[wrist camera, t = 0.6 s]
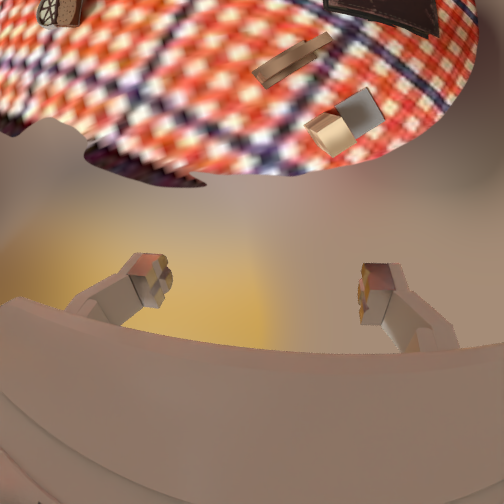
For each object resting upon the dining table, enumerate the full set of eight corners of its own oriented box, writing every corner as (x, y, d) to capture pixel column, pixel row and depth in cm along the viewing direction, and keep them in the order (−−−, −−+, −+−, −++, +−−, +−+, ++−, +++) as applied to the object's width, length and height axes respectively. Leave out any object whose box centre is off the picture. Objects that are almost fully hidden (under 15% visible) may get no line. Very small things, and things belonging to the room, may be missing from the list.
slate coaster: (334, 105, 46) (335, 106, 45) (364, 87, 43) (366, 87, 43) (354, 138, 49) (355, 139, 49) (383, 120, 47) (385, 120, 46)
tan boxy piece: (303, 125, 48) (316, 132, 39) (324, 111, 47) (342, 116, 37) (317, 145, 51) (333, 157, 41) (337, 132, 49) (357, 141, 40)
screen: (265, 89, 44) (272, 87, 33) (251, 72, 43) (252, 63, 31) (316, 58, 41) (339, 47, 29) (302, 41, 39) (320, 24, 27)
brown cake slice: (64, -3, 26) (39, -10, 18) (85, -11, 27) (61, -21, 18) (57, 39, 33) (31, 37, 24) (78, 31, 33) (52, 26, 25)
